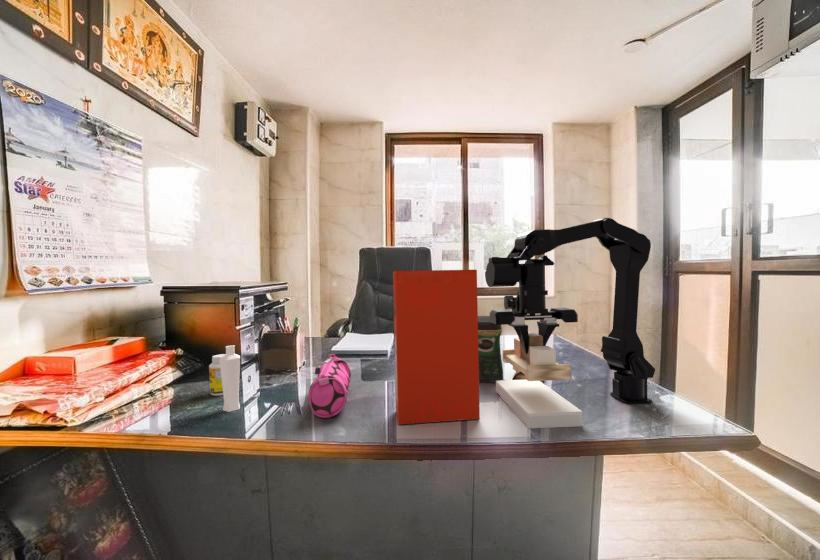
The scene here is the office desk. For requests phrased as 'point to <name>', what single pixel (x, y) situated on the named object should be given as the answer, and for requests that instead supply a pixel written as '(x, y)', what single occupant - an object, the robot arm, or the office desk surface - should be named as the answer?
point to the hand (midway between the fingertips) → (533, 353)
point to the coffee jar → (489, 350)
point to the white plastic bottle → (230, 379)
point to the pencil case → (330, 387)
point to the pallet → (536, 371)
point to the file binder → (436, 345)
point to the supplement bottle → (215, 376)
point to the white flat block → (538, 404)
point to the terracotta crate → (518, 348)
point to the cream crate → (542, 355)
